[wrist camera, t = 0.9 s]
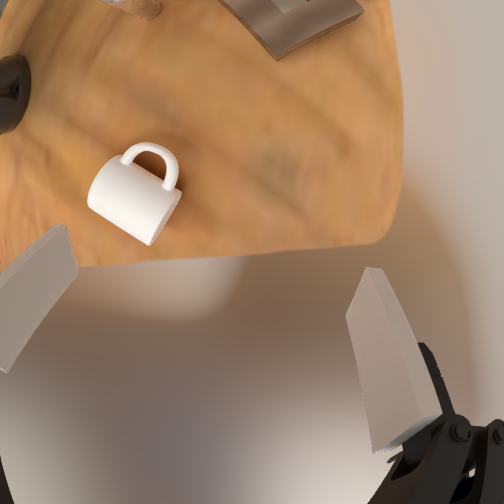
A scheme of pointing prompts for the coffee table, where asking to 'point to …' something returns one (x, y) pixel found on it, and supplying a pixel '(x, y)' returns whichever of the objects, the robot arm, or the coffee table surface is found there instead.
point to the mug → (136, 193)
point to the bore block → (291, 20)
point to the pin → (137, 7)
